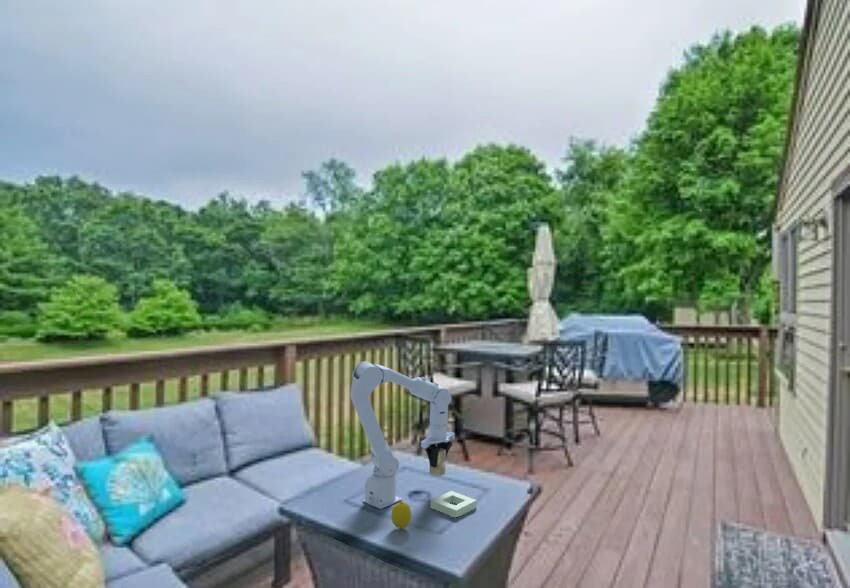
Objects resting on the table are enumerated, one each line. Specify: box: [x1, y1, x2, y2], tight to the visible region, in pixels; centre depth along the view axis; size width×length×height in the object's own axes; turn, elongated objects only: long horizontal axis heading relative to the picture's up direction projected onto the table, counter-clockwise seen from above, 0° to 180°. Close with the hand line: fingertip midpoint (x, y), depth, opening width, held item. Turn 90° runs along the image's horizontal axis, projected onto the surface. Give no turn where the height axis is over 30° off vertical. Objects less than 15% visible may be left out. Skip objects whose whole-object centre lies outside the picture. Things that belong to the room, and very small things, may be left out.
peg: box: [428, 448, 447, 478], centre depth 188 cm, size 4×4×8 cm
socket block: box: [430, 490, 478, 518], centre depth 178 cm, size 10×10×2 cm
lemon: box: [391, 500, 412, 530], centre depth 164 cm, size 6×6×8 cm
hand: (437, 464), depth 189 cm, fingers closed on peg, 4 cm apart
